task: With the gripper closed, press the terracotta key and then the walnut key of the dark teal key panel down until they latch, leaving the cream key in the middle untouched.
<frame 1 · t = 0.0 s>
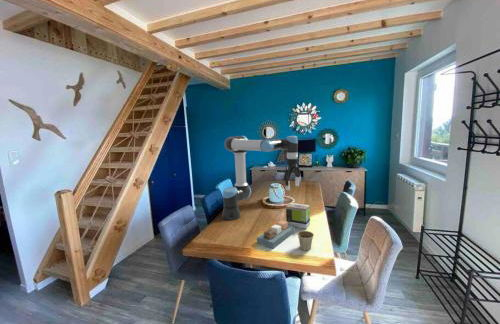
hand: (292, 187, 168), 28 cm above the table, fingers open, 13 cm apart
terracotta key: (282, 225, 159), point 6 cm above the table, slide at 0.0 cm
tea box: (298, 225, 173), on the table
walnut key: (269, 234, 147), point 6 cm above the table, slide at 0.0 cm
flower pot: (305, 248, 140), on the table
key panel: (276, 237, 154), on the table
cream key: (276, 229, 153), point 6 cm above the table, slide at 0.0 cm
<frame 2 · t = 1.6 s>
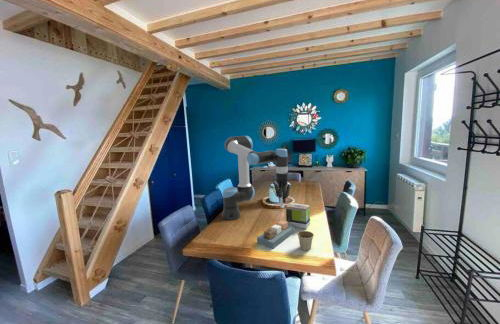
hand: (282, 207, 157), 18 cm above the table, fingers closed
nothing on the table moved.
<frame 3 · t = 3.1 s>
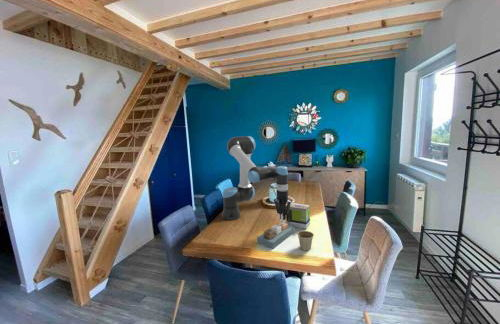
hand: (282, 223, 159), 7 cm above the table, fingers closed
terracotta key: (282, 227, 160), point 4 cm above the table, slide at 1.4 cm, touching gripper
everything else where it was.
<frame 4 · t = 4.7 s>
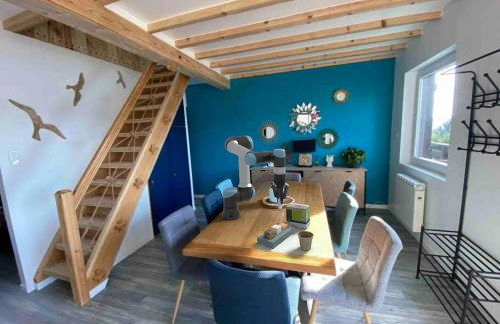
hand: (280, 208, 155), 18 cm above the table, fingers closed
terracotta key: (282, 227, 160), point 4 cm above the table, slide at 1.8 cm
everything else where it was.
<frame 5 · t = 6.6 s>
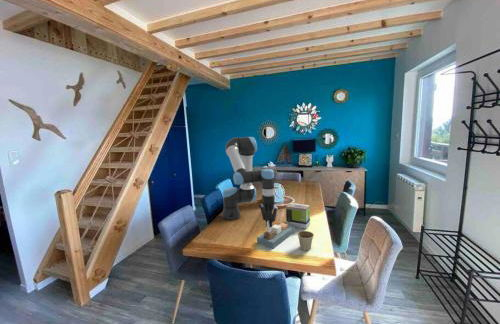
hand: (269, 231, 147), 8 cm above the table, fingers closed
walnut key: (269, 234, 147), point 5 cm above the table, slide at 0.6 cm, touching gripper
everything else where it was.
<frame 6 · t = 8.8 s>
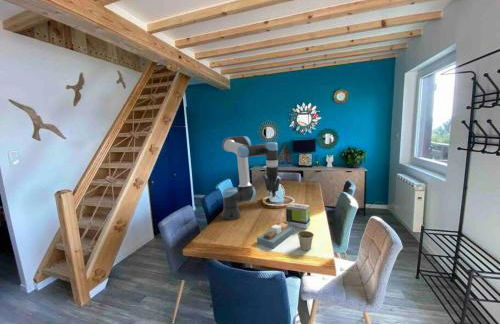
hand: (272, 201, 157), 23 cm above the table, fingers closed
walnut key: (269, 236, 147), point 4 cm above the table, slide at 1.8 cm
everything else where it was.
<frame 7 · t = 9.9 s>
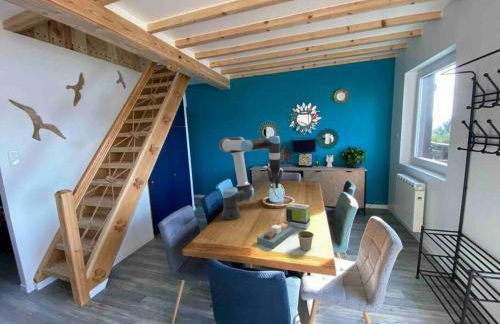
hand: (275, 192, 164), 26 cm above the table, fingers closed
nothing on the table moved.
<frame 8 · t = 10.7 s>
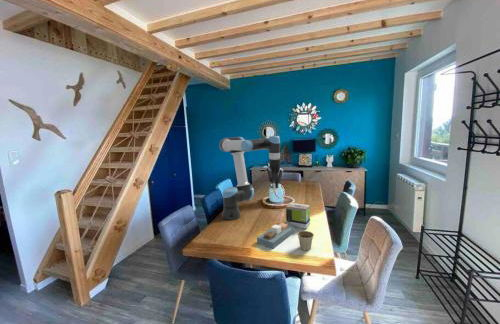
hand: (275, 192, 164), 26 cm above the table, fingers closed
nothing on the table moved.
at the end: walnut key slide at 1.8 cm; terracotta key slide at 1.8 cm; cream key slide at 0.0 cm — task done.
